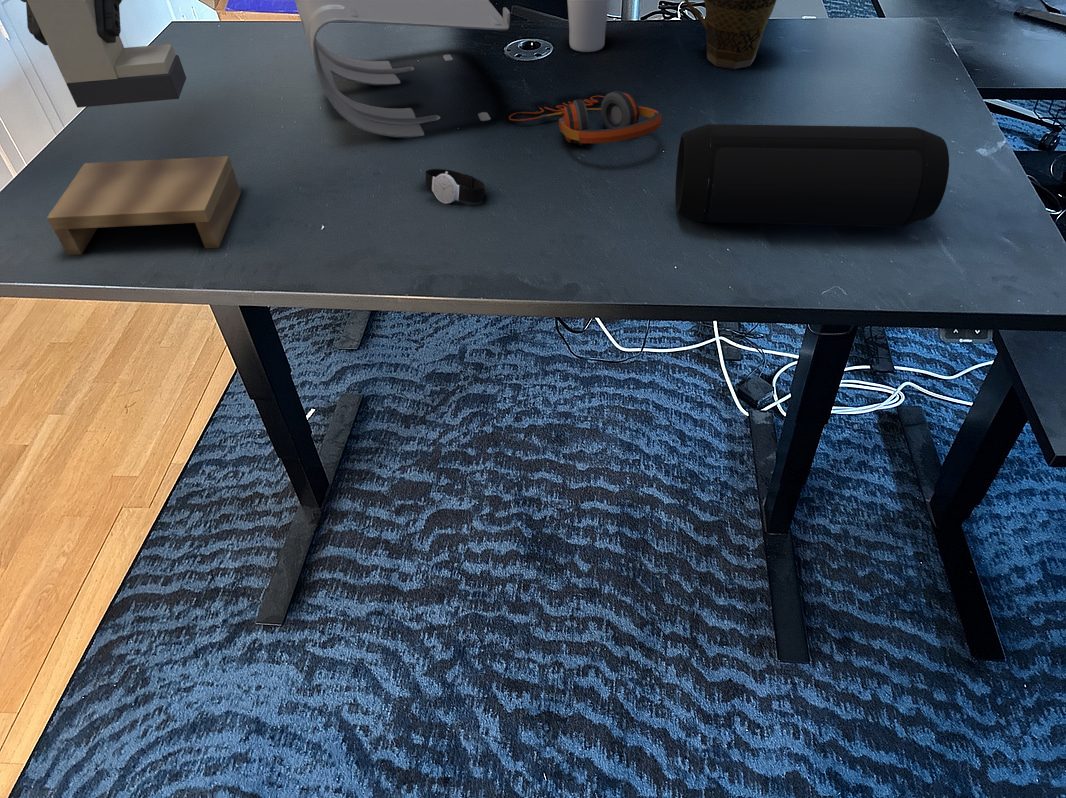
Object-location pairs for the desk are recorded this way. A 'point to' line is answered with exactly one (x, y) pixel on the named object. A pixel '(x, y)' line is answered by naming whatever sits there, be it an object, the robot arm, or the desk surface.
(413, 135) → the laptop stand
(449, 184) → the watch
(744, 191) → the portable speaker
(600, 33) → the white tapered cylinder
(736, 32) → the ceramic cup
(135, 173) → the display stand
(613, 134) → the headphones
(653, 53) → the desk surface
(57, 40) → the shoe
